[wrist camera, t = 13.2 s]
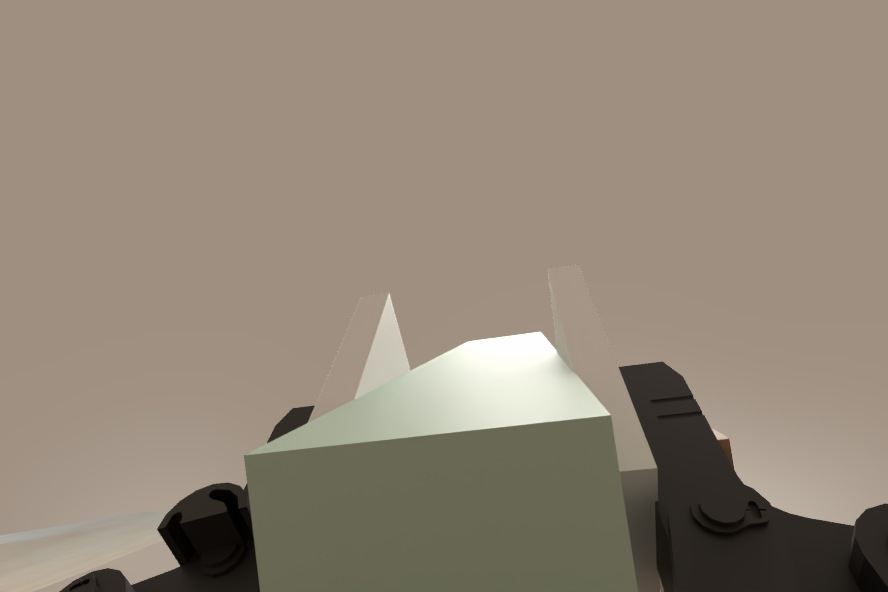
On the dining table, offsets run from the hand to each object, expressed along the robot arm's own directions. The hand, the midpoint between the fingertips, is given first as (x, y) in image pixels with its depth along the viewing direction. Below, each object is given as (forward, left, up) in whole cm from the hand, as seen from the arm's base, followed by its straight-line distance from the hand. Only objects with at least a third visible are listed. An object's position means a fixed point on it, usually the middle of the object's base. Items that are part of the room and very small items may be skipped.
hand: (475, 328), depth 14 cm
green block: (0, -4, -4) cm, 6 cm away
